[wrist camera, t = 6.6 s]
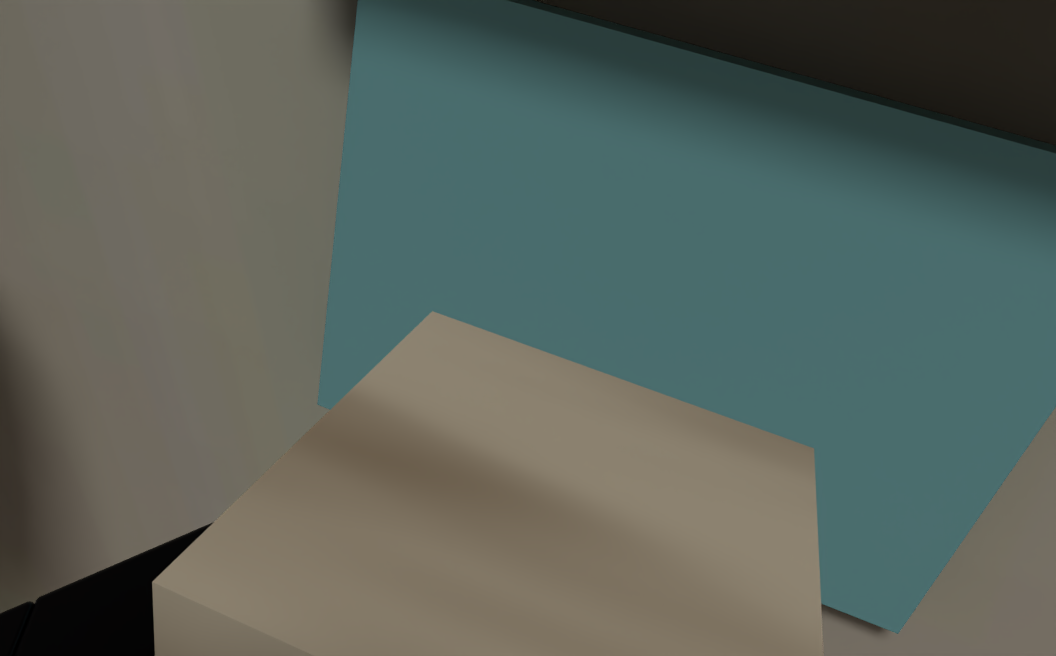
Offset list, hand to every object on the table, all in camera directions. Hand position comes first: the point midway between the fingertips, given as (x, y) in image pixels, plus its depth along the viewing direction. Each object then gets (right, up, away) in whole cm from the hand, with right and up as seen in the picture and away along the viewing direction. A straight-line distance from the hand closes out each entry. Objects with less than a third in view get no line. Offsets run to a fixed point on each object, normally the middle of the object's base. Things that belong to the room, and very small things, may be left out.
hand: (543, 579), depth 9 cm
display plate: (+3, +3, +7) cm, 8 cm away
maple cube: (0, 0, +1) cm, 1 cm away
